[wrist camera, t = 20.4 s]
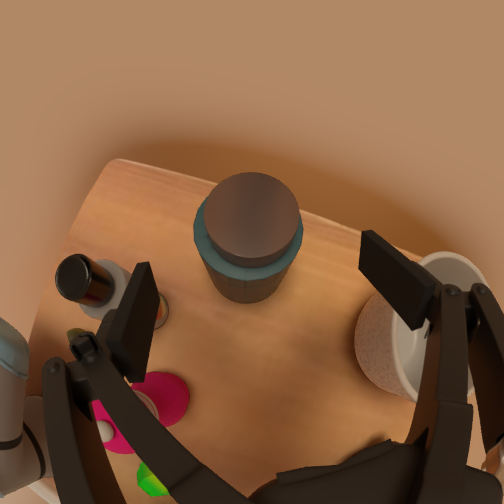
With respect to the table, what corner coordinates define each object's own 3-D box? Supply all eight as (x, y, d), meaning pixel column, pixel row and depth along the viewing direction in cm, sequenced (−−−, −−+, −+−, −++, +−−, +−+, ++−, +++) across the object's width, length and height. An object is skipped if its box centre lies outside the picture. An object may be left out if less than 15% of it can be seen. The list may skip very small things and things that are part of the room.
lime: (96, 363, 33) (79, 364, 28) (72, 351, 33) (54, 350, 29) (103, 336, 35) (86, 334, 30) (79, 325, 35) (61, 321, 30)
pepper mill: (135, 379, 33) (46, 398, 14) (178, 361, 34) (112, 375, 15) (157, 424, 31) (87, 479, 12) (202, 407, 32) (161, 467, 13)
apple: (136, 502, 20) (178, 474, 23) (120, 467, 25) (158, 437, 27) (172, 505, 24) (213, 479, 27) (155, 475, 29) (192, 447, 32)
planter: (413, 401, 32) (478, 414, 18) (320, 377, 34) (367, 395, 19) (439, 302, 38) (503, 280, 23) (357, 267, 39) (410, 226, 25)
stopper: (205, 272, 29) (192, 246, 21) (222, 206, 32) (217, 165, 24) (279, 287, 29) (292, 266, 21) (290, 220, 31) (304, 181, 24)
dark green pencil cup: (202, 294, 37) (180, 267, 24) (219, 227, 41) (209, 173, 27) (276, 309, 37) (294, 290, 24) (288, 241, 40) (308, 191, 27)
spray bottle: (168, 288, 37) (102, 234, 18) (170, 329, 36) (99, 310, 17) (131, 292, 37) (48, 243, 18) (133, 331, 35) (43, 312, 16)
